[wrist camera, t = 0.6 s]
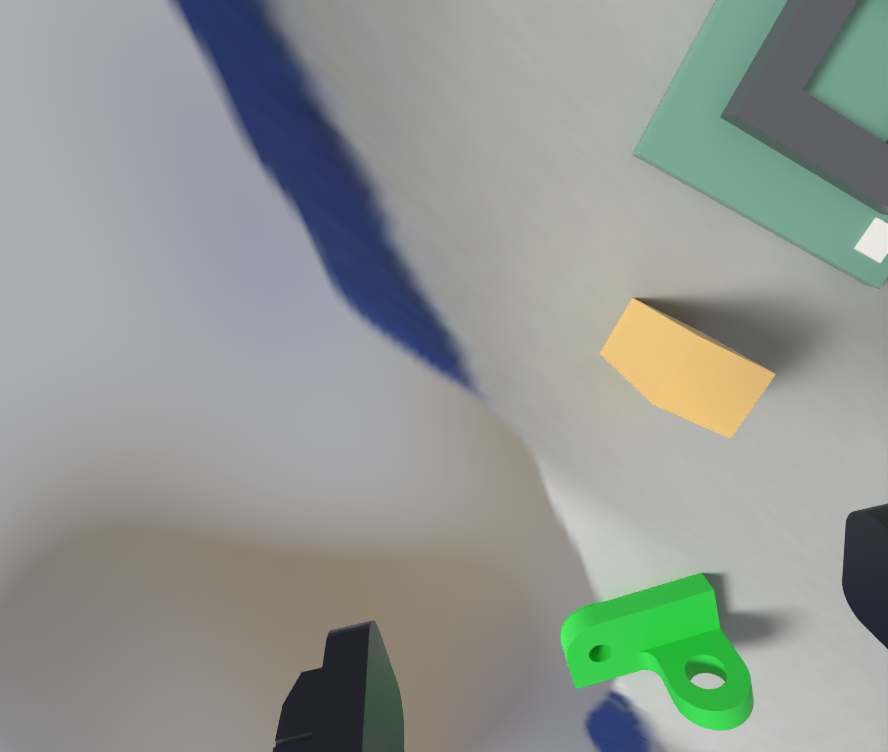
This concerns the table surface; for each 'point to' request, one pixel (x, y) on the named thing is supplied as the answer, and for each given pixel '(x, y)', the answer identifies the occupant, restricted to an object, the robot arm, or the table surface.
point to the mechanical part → (663, 648)
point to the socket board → (754, 164)
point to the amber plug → (685, 369)
